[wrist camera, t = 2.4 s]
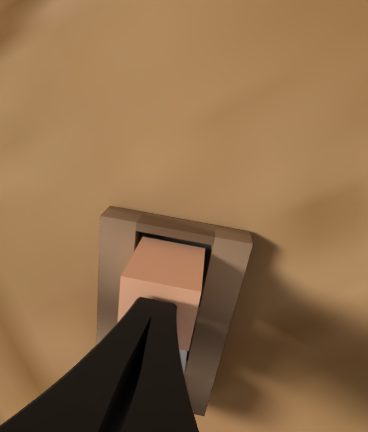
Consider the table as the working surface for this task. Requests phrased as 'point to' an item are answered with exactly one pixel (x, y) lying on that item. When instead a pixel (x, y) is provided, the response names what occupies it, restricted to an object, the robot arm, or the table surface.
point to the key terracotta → (165, 281)
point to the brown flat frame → (211, 284)
